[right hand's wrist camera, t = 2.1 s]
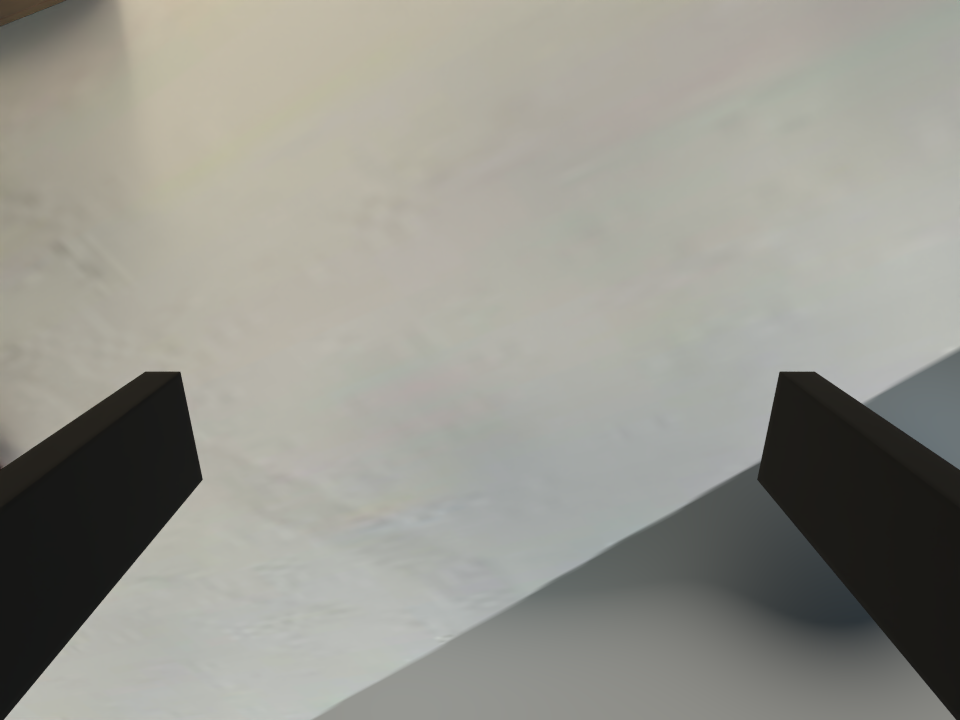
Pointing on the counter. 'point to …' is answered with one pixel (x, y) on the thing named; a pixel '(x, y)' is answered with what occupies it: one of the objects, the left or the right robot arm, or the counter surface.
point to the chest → (22, 8)
